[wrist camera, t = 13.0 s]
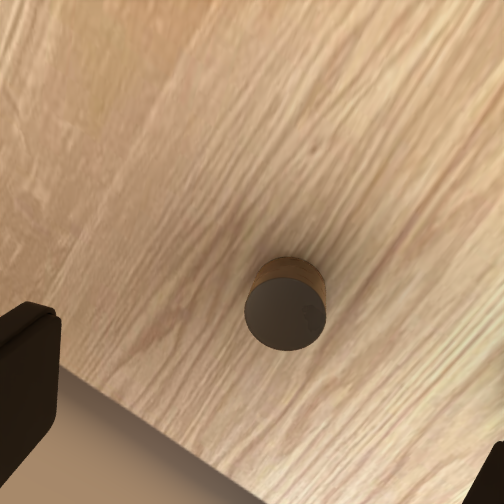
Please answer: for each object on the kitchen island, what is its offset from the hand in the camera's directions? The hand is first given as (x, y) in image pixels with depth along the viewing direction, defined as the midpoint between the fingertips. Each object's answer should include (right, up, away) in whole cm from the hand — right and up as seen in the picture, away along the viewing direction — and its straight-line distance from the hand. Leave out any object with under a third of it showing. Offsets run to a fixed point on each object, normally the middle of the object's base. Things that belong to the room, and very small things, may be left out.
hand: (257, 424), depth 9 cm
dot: (+2, +1, +14) cm, 14 cm away
